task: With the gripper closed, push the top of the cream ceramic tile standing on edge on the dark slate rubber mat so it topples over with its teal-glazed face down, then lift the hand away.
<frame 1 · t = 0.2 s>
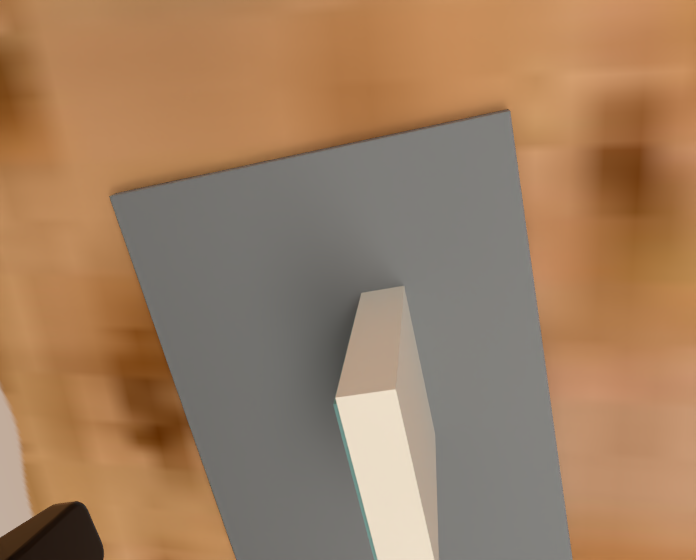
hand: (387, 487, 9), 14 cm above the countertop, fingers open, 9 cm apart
tile: (399, 366, 23), resting on mat
mat: (359, 390, 24), on the countertop
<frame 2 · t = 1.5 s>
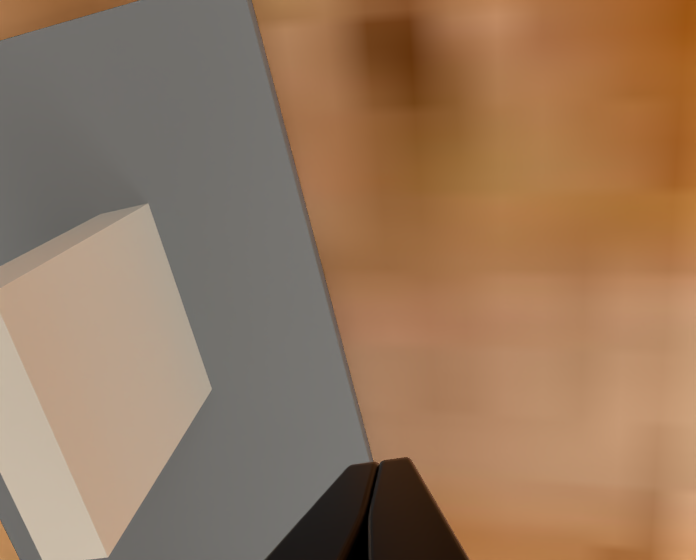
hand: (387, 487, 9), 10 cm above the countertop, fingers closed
tile: (158, 305, 19), resting on mat
mat: (124, 338, 20), on the countertop
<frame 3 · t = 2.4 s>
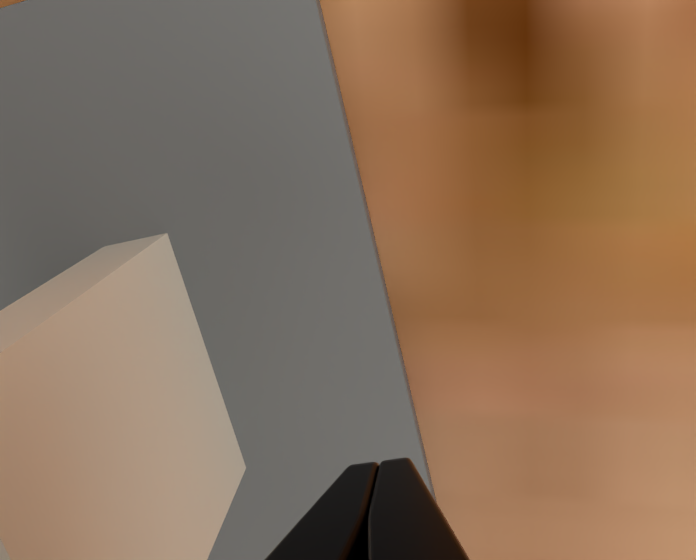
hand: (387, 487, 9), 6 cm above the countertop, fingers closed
tile: (178, 363, 15), resting on mat
mat: (133, 401, 16), on the countertop
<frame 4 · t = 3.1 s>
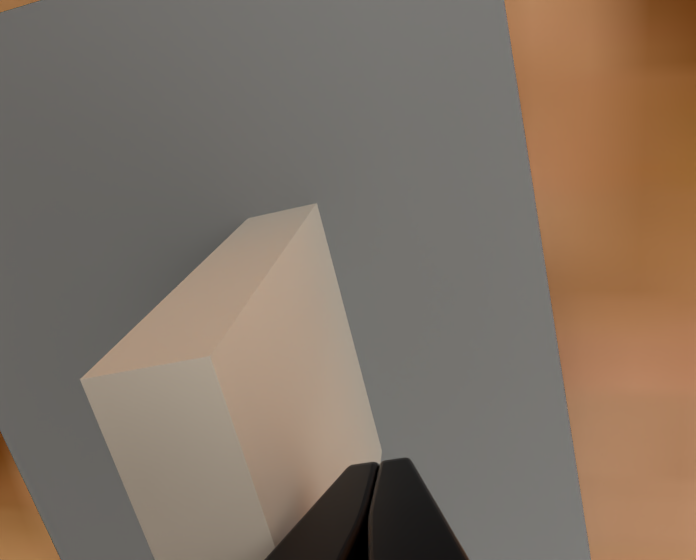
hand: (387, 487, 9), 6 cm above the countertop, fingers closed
tile: (318, 340, 14), resting on mat, touching gripper
mat: (261, 382, 15), on the countertop
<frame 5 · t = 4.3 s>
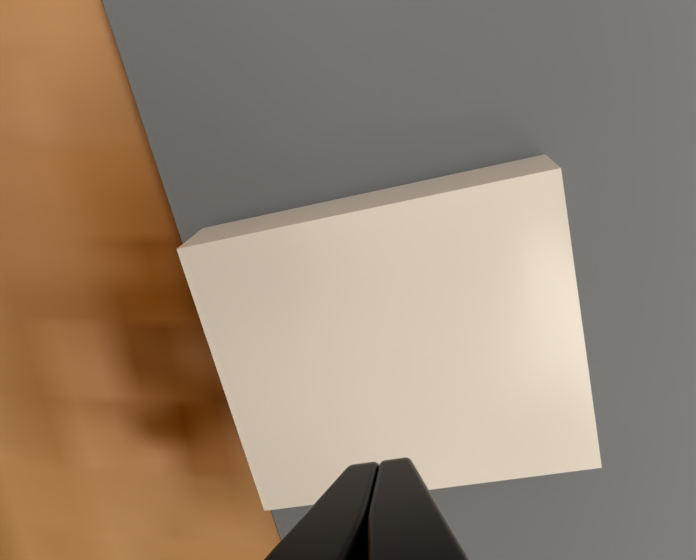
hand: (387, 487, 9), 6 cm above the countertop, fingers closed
tile: (574, 313, 12), point 1 cm above the countertop, tilted 90°, touching mat
mat: (524, 336, 14), on the countertop
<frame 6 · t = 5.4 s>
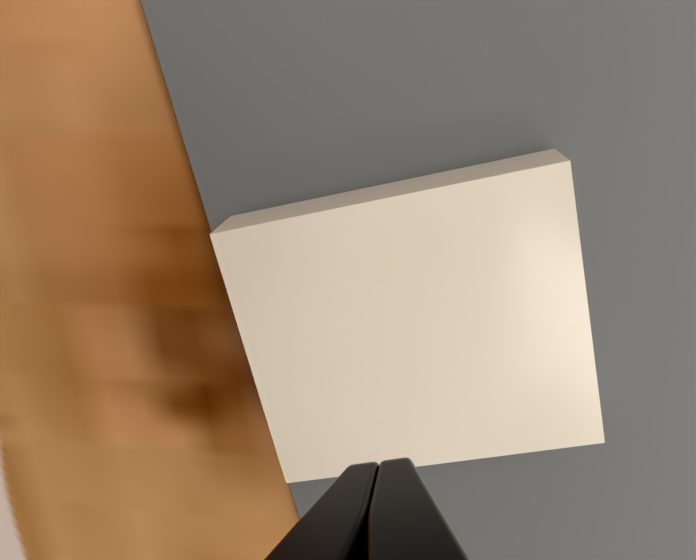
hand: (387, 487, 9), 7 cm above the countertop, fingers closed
tile: (580, 298, 13), point 1 cm above the countertop, tilted 90°, touching mat
mat: (532, 321, 15), on the countertop
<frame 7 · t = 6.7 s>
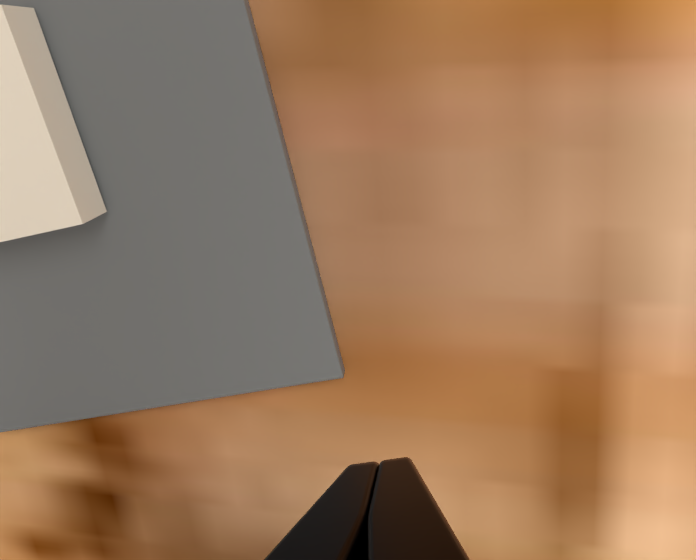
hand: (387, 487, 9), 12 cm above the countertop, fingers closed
tile: (58, 117, 18), point 1 cm above the countertop, tilted 90°, touching mat
mat: (70, 150, 20), on the countertop
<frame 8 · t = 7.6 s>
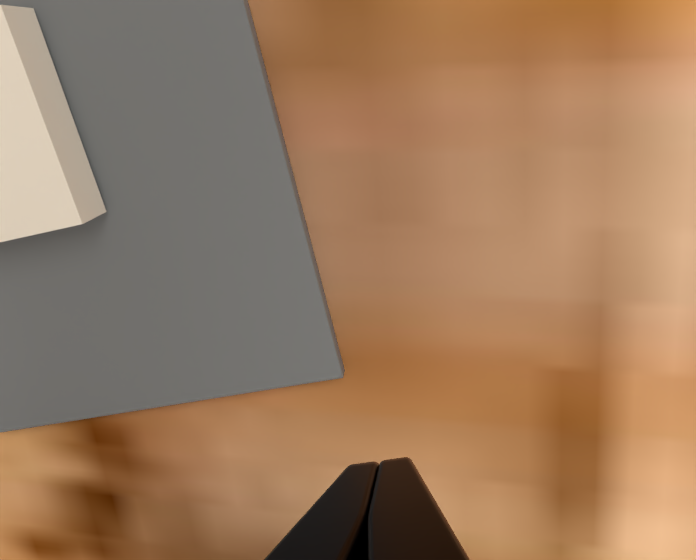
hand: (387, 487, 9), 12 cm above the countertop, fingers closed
tile: (58, 117, 18), point 1 cm above the countertop, tilted 90°, touching mat
mat: (70, 151, 20), on the countertop
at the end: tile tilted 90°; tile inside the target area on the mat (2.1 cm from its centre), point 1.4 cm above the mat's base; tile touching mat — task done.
